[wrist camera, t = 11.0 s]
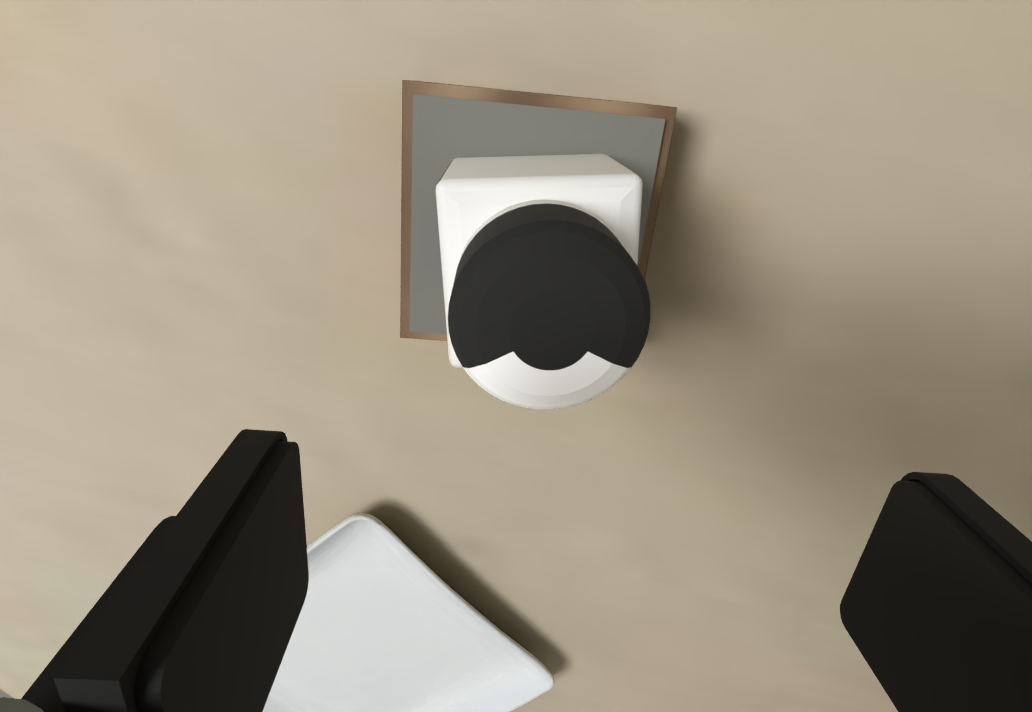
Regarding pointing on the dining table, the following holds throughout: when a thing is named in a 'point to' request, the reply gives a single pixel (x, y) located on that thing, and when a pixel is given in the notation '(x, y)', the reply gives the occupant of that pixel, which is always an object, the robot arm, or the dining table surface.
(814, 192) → the dining table surface
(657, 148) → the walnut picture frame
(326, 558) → the salad plate
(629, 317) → the medicine bottle
